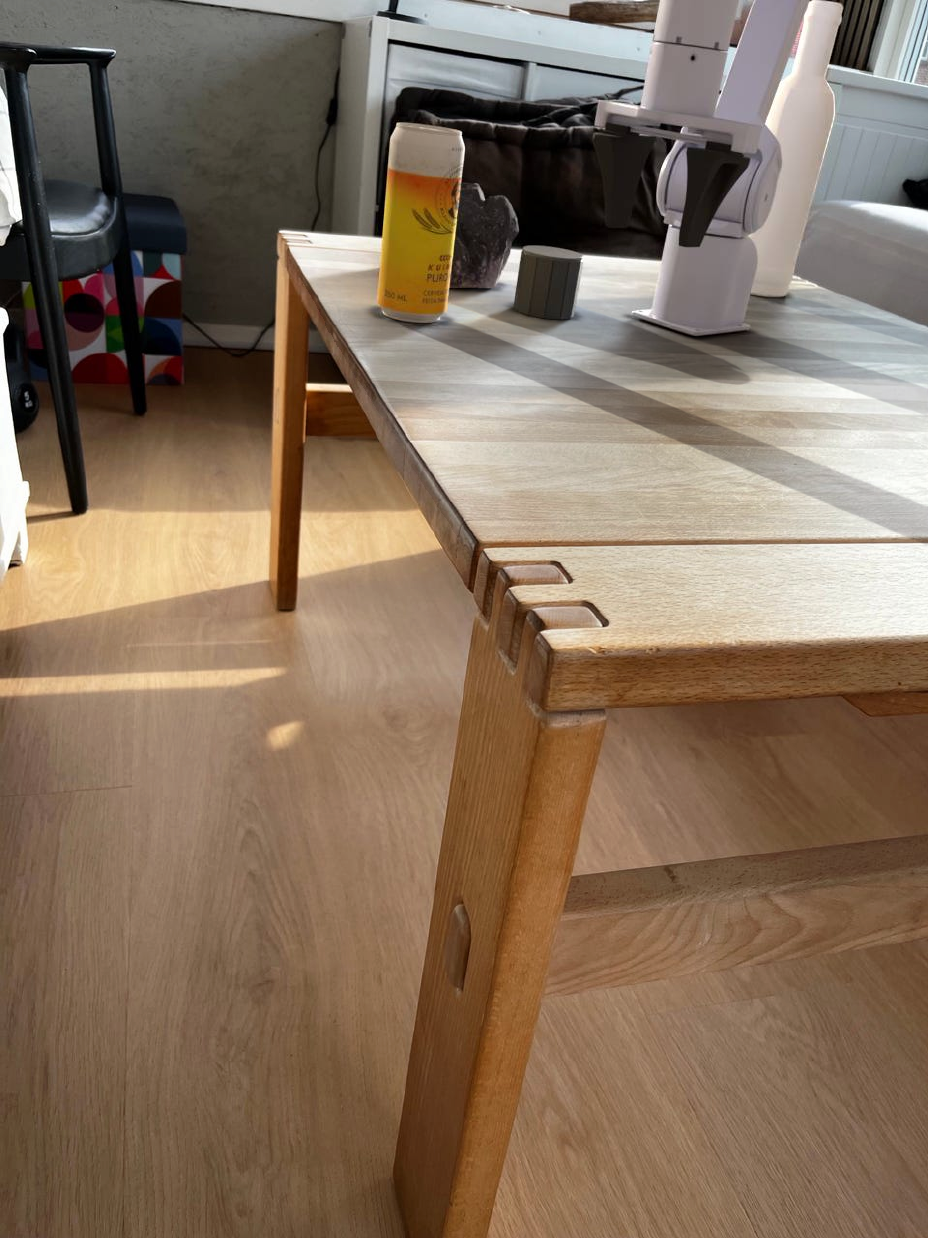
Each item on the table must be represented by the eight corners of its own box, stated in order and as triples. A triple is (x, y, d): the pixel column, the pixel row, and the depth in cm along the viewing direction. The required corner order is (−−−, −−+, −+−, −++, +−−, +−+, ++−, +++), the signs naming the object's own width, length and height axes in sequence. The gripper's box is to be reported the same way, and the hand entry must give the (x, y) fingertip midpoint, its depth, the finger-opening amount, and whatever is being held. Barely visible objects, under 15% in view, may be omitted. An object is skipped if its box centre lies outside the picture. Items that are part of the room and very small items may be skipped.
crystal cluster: (355, 281, 102) (367, 177, 97) (402, 252, 113) (415, 156, 108) (481, 317, 100) (500, 212, 95) (516, 283, 111) (536, 187, 106)
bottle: (796, 293, 125) (873, 9, 110) (775, 300, 119) (854, 1, 104) (734, 279, 128) (801, 2, 114) (711, 285, 122) (779, -6, 108)
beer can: (437, 328, 87) (458, 134, 79) (367, 316, 87) (382, 122, 80) (451, 314, 92) (473, 131, 85) (386, 303, 93) (402, 120, 85)
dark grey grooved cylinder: (542, 302, 101) (551, 244, 99) (585, 317, 98) (596, 257, 95) (501, 305, 98) (510, 245, 95) (544, 320, 94) (554, 259, 92)
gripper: (583, 33, 79) (554, 219, 85) (740, 50, 70) (694, 256, 77) (640, 43, 83) (608, 219, 90) (794, 60, 75) (746, 254, 81)
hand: (651, 236), depth 84 cm, fingers open, 7 cm apart
